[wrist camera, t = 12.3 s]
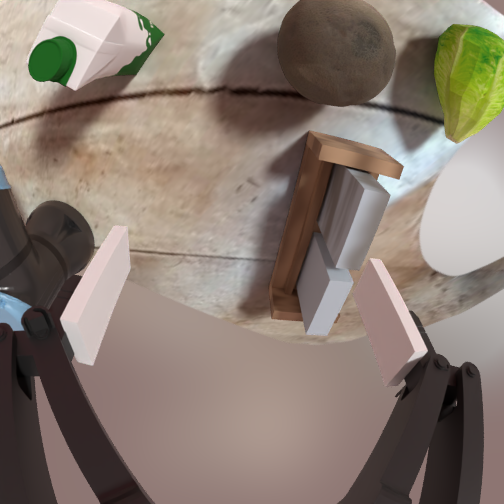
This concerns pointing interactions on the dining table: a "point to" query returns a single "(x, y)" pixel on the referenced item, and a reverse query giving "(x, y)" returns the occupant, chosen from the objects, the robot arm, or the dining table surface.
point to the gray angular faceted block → (321, 287)
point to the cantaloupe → (336, 51)
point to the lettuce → (469, 79)
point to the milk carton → (90, 43)
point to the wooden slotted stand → (330, 212)
